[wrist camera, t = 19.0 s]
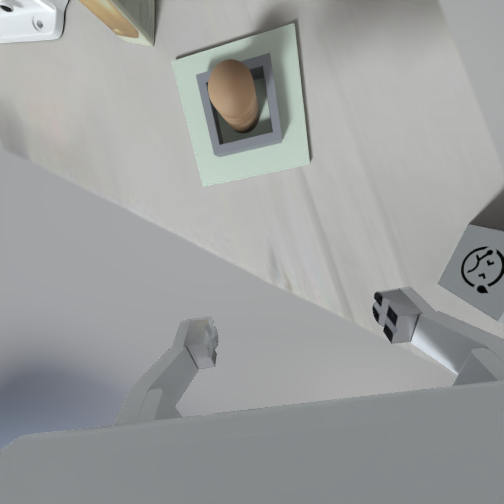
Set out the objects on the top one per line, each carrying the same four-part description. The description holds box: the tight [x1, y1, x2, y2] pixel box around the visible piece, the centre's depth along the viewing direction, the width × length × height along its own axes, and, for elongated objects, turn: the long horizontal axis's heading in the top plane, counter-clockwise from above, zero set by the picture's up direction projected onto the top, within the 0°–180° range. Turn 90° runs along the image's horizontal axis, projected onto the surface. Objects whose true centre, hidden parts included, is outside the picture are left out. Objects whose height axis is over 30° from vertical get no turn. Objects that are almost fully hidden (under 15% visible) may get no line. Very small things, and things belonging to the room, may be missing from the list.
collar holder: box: [171, 23, 310, 187], centre depth 28 cm, size 16×16×4 cm
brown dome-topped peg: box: [208, 59, 260, 133], centre depth 25 cm, size 4×4×9 cm
